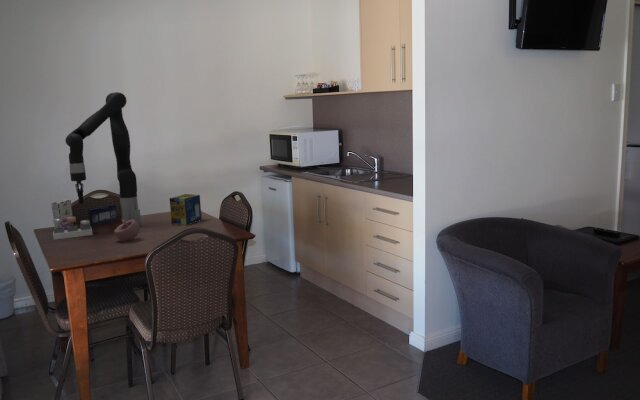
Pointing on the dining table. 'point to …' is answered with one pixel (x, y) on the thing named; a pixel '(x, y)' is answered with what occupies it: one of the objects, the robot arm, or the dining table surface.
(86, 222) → the plunger
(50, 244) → the dining table surface
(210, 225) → the dining table surface
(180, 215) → the protein box
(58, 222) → the plunger
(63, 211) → the candy bar box
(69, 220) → the dial knob
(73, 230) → the grey knob panel
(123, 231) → the mortar and pestle
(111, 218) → the vhs cassette tape
